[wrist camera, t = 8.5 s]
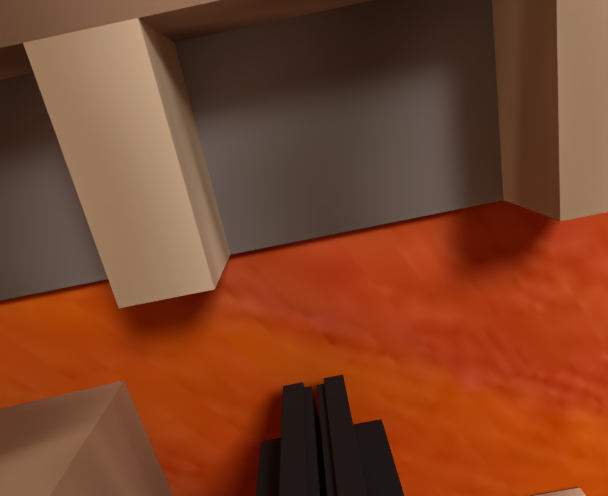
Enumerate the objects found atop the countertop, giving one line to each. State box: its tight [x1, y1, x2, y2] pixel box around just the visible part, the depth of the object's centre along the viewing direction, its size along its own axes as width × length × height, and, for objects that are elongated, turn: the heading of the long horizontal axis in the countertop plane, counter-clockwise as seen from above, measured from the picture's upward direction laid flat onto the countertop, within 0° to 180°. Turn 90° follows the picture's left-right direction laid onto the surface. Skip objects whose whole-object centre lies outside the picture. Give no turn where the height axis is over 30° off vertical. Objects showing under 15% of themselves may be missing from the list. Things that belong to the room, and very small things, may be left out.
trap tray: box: [0, 0, 608, 496], centre depth 10 cm, size 23×17×2 cm
